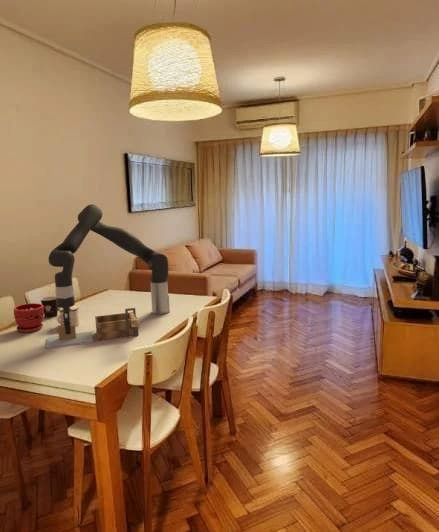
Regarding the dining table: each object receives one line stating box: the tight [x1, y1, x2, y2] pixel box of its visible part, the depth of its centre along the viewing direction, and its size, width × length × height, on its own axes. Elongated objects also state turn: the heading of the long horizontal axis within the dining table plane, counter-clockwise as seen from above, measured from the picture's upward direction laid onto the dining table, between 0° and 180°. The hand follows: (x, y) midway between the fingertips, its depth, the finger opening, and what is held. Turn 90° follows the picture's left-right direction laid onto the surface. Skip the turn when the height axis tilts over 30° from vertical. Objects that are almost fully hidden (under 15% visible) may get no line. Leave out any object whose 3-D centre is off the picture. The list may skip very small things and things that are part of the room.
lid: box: [45, 324, 94, 350], centre depth 174 cm, size 19×13×7 cm
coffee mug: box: [40, 295, 60, 319], centre depth 212 cm, size 12×9×10 cm
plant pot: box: [13, 302, 44, 333], centre depth 190 cm, size 13×13×12 cm
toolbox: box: [94, 307, 139, 342], centre depth 180 cm, size 18×13×13 cm
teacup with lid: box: [56, 305, 80, 328], centre depth 194 cm, size 12×9×12 cm
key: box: [128, 311, 140, 328], centre depth 167 cm, size 3×13×3 cm, turn 20°
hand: (68, 331), depth 175 cm, fingers open, 6 cm apart
